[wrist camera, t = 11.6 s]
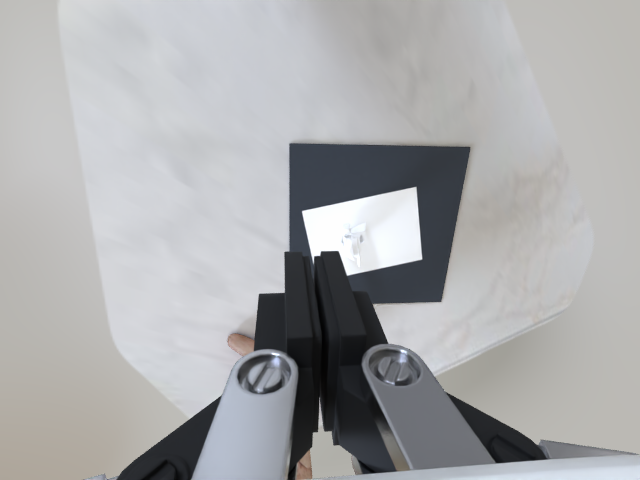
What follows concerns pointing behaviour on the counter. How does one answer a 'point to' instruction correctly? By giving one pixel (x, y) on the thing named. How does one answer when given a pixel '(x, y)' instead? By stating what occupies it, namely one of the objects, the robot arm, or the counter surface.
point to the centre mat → (379, 178)
